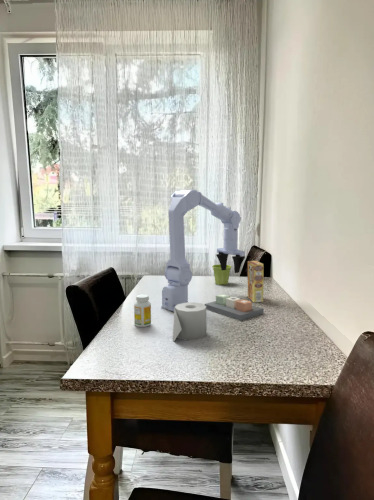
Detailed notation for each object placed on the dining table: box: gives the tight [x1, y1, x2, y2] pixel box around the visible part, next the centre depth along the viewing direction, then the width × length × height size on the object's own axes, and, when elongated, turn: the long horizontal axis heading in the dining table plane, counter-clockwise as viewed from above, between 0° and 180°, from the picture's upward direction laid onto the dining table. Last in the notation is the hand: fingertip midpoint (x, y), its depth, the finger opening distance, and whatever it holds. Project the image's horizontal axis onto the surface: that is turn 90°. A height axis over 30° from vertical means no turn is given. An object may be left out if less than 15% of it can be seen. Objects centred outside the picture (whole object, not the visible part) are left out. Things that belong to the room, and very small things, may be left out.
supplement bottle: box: [133, 293, 152, 328], centre depth 117 cm, size 5×5×10 cm
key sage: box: [215, 293, 231, 306], centre depth 135 cm, size 4×4×3 cm
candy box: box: [247, 260, 265, 303], centre depth 146 cm, size 9×4×15 cm, turn 8°
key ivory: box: [226, 296, 242, 309], centre depth 131 cm, size 4×4×3 cm
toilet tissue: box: [171, 301, 207, 343], centre depth 107 cm, size 9×13×9 cm
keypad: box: [203, 300, 265, 321], centre depth 132 cm, size 12×18×2 cm, turn 39°
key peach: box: [236, 299, 253, 312], centre depth 127 cm, size 4×4×3 cm
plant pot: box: [211, 263, 233, 286], centre depth 175 cm, size 9×9×9 cm
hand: (230, 271), depth 153 cm, fingers open, 7 cm apart
